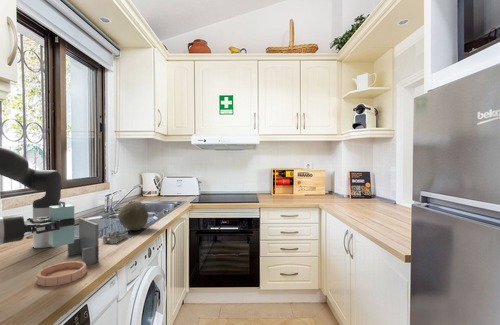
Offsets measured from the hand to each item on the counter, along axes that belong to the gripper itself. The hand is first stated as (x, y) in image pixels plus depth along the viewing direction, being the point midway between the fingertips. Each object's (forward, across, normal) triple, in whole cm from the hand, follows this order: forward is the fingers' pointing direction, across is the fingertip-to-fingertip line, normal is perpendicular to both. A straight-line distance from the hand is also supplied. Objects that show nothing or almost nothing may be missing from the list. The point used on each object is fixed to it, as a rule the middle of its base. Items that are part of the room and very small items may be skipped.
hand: (71, 220), depth 85 cm
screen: (+7, +12, +18) cm, 23 cm away
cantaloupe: (+39, +36, +18) cm, 56 cm away
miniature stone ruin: (+25, +27, +18) cm, 41 cm away
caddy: (-3, 0, +7) cm, 8 cm away
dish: (-2, 0, +18) cm, 18 cm away
